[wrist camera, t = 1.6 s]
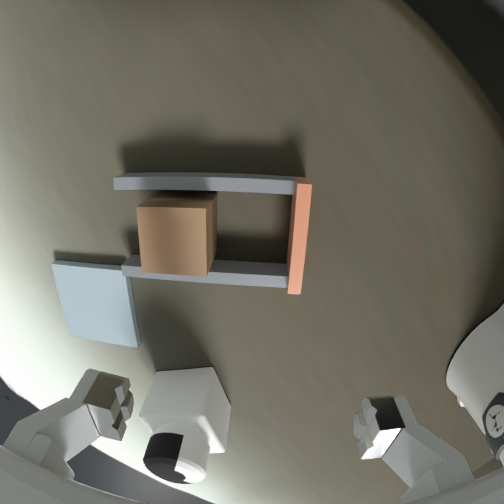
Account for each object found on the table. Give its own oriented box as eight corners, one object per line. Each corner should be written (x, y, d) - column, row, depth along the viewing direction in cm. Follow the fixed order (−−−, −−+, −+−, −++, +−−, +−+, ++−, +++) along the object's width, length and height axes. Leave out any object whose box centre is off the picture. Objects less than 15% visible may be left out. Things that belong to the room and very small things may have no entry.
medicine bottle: (178, 409, 35) (156, 487, 24) (155, 370, 33) (121, 453, 21) (231, 406, 34) (220, 491, 23) (213, 365, 32) (193, 458, 20)
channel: (305, 177, 24) (311, 184, 21) (296, 274, 27) (300, 294, 24) (126, 173, 24) (107, 179, 21) (133, 264, 28) (117, 281, 24)
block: (217, 193, 25) (205, 208, 20) (217, 251, 27) (206, 276, 22) (159, 192, 25) (136, 206, 20) (161, 247, 27) (142, 272, 22)
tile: (128, 266, 28) (124, 270, 27) (141, 342, 31) (138, 347, 30) (56, 260, 28) (51, 263, 27) (73, 330, 31) (70, 334, 30)
